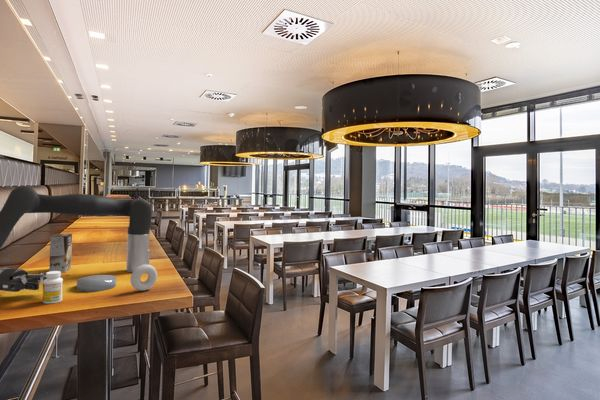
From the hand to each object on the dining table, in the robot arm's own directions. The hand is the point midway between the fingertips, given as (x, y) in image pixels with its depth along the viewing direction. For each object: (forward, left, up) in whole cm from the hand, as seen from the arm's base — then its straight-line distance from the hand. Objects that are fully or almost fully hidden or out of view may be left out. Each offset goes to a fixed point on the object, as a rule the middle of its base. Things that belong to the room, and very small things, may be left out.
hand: (49, 283), depth 114 cm
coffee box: (-1, -46, -6) cm, 46 cm away
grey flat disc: (-14, -12, -6) cm, 19 cm away
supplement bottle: (-1, +1, -6) cm, 6 cm away
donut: (-29, 0, -6) cm, 30 cm away
